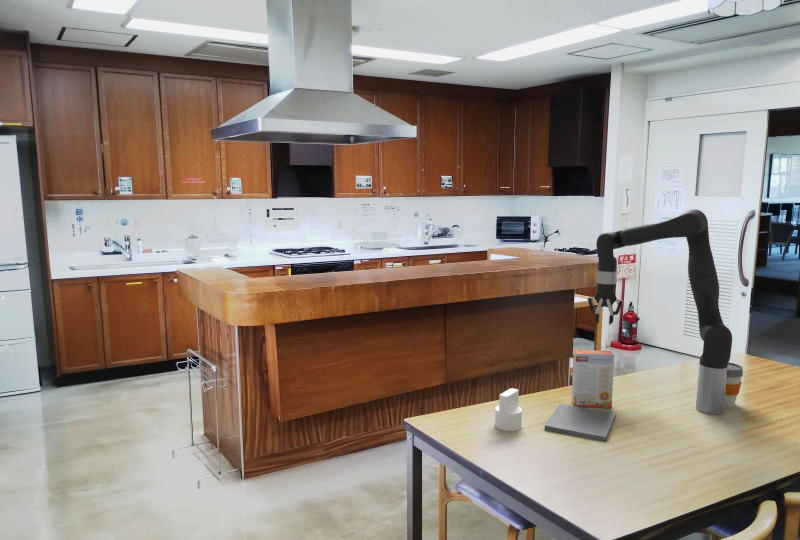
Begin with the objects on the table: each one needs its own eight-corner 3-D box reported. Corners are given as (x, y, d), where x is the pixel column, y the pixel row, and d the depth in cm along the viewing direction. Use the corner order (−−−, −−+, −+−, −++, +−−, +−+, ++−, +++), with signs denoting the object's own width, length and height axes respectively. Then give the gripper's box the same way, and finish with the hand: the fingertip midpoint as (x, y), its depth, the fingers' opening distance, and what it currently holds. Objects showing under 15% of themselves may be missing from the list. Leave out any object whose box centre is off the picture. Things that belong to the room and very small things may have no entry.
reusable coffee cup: (746, 409, 220) (750, 370, 218) (712, 408, 221) (716, 369, 219) (728, 397, 233) (732, 361, 231) (696, 397, 233) (700, 360, 231)
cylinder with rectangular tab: (514, 433, 198) (515, 398, 196) (490, 426, 203) (491, 393, 202) (525, 424, 205) (527, 391, 203) (502, 418, 210) (503, 386, 209)
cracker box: (608, 403, 226) (611, 350, 223) (612, 408, 220) (615, 354, 217) (570, 401, 228) (573, 348, 225) (573, 407, 222) (576, 353, 219)
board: (615, 416, 212) (616, 413, 212) (605, 441, 192) (606, 437, 191) (559, 407, 221) (559, 403, 221) (544, 429, 201) (544, 425, 201)
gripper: (586, 281, 237) (584, 323, 239) (624, 284, 231) (621, 327, 233) (589, 279, 244) (587, 319, 246) (626, 282, 237) (623, 323, 240)
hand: (604, 323), depth 239 cm, fingers open, 4 cm apart
